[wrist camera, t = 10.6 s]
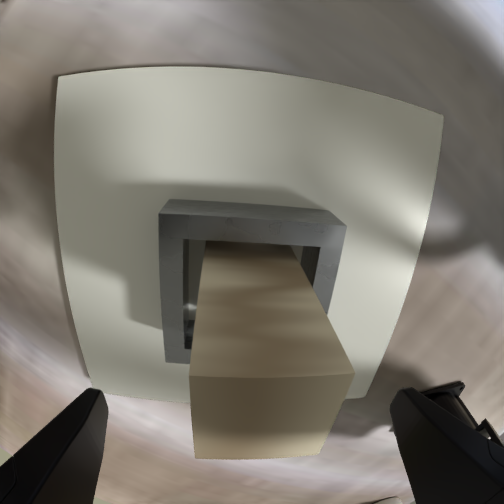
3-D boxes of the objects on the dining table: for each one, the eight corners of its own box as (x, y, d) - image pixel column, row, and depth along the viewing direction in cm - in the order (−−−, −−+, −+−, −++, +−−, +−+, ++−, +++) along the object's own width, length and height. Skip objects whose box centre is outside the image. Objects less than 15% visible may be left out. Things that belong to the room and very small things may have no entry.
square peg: (288, 242, 15) (355, 372, 7) (278, 311, 17) (318, 454, 8) (206, 238, 15) (188, 375, 6) (204, 309, 16) (195, 458, 8)
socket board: (433, 115, 14) (444, 115, 13) (360, 388, 22) (364, 397, 21) (67, 78, 12) (58, 76, 11) (98, 381, 19) (94, 391, 18)
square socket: (328, 210, 15) (347, 225, 12) (303, 337, 18) (313, 365, 15) (169, 198, 14) (158, 213, 12) (171, 333, 17) (165, 362, 14)
